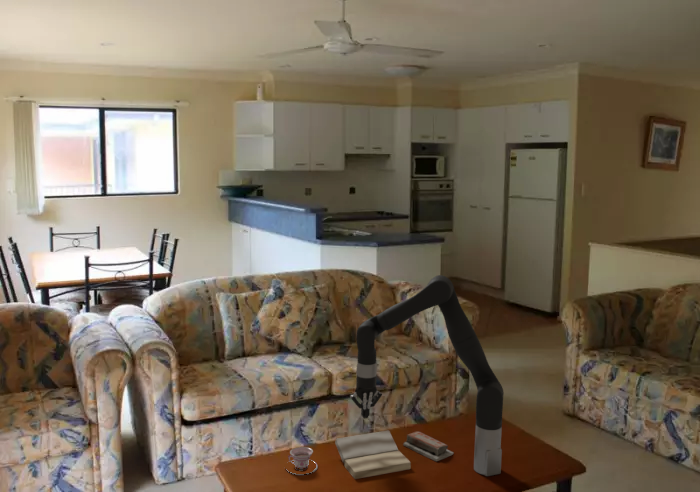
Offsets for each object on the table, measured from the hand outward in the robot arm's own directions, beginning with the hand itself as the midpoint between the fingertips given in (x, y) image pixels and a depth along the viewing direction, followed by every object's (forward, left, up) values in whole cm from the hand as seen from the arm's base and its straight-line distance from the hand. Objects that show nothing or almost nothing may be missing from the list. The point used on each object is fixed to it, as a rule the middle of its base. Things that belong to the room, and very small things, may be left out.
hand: (365, 417), depth 255 cm
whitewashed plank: (-1, 0, -12) cm, 12 cm away
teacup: (-2, +26, -15) cm, 30 cm away
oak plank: (-12, 0, -15) cm, 19 cm away
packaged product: (-5, -24, -15) cm, 29 cm away
